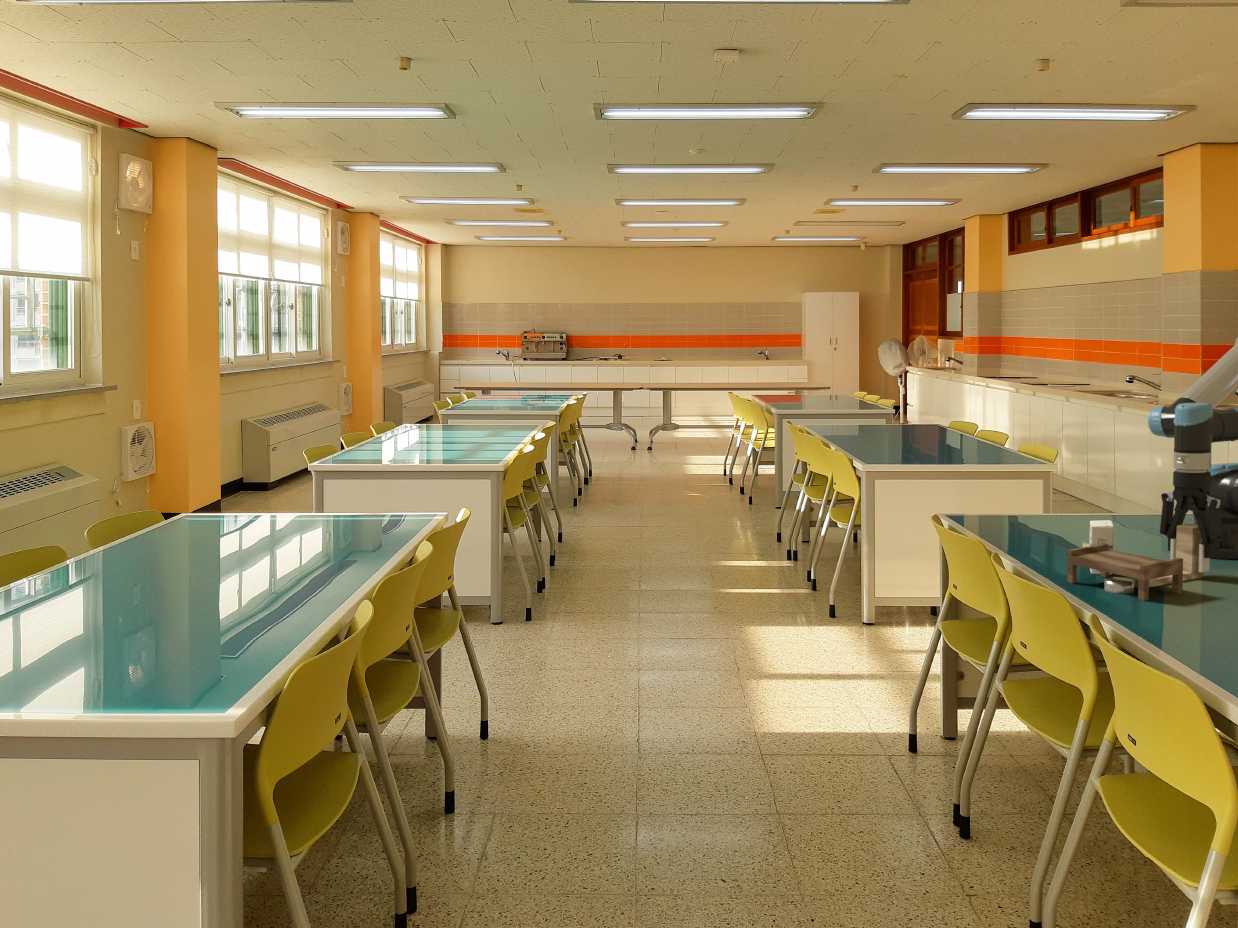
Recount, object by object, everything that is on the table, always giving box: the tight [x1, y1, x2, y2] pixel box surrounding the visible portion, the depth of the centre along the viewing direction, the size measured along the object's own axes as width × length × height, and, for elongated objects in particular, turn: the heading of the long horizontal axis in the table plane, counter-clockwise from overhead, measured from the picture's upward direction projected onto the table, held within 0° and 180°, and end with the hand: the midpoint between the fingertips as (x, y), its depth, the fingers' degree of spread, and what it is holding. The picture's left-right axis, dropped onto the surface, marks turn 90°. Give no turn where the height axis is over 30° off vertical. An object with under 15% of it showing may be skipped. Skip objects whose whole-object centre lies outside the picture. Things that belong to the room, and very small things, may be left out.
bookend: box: [1130, 523, 1204, 589], centre depth 227 cm, size 20×4×12 cm, turn 114°
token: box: [1103, 576, 1135, 595], centre depth 221 cm, size 6×6×2 cm
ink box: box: [1088, 519, 1114, 576], centre depth 239 cm, size 9×5×12 cm, turn 158°
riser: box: [1067, 544, 1184, 602], centre depth 223 cm, size 12×20×8 cm, turn 24°
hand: (1189, 568), depth 230 cm, fingers open, 6 cm apart
